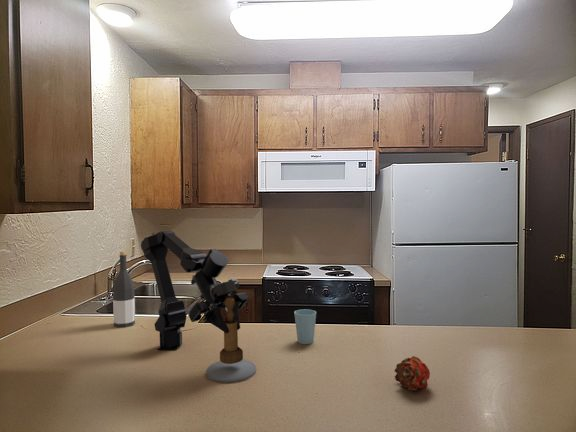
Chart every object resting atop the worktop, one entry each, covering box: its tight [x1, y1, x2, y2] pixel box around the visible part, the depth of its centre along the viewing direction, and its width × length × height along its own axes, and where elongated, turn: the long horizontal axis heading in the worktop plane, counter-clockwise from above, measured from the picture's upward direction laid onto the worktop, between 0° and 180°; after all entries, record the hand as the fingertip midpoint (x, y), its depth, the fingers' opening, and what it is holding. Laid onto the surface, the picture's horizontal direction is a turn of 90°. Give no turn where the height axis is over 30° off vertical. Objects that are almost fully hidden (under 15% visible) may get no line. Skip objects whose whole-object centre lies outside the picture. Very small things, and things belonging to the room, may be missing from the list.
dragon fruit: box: [394, 355, 431, 392], centre depth 103 cm, size 8×8×12 cm
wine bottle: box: [112, 250, 136, 329], centre depth 161 cm, size 8×8×30 cm
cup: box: [293, 308, 317, 345], centre depth 139 cm, size 8×8×10 cm
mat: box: [206, 359, 257, 384], centre depth 114 cm, size 14×14×1 cm
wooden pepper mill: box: [219, 296, 244, 364], centre depth 114 cm, size 7×6×18 cm
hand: (233, 330), depth 113 cm, fingers closed on wooden pepper mill, 4 cm apart
